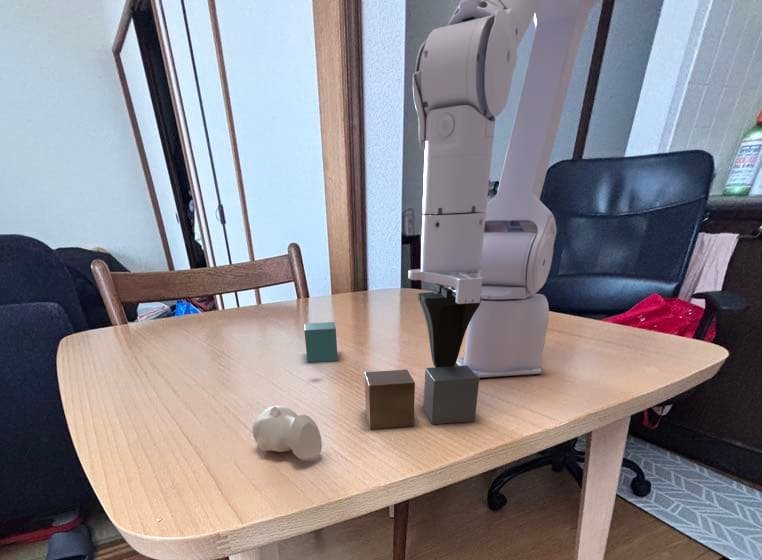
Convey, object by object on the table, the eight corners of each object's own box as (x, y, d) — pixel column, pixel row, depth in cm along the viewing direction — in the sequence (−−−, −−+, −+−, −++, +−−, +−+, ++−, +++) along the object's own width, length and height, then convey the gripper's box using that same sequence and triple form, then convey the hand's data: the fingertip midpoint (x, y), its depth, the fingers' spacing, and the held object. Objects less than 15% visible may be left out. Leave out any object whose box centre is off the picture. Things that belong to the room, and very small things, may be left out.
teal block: (336, 353, 73) (334, 321, 70) (337, 360, 69) (335, 328, 66) (307, 354, 72) (304, 323, 70) (307, 362, 69) (304, 330, 66)
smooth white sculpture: (254, 454, 47) (295, 427, 48) (290, 483, 41) (335, 452, 42) (233, 417, 44) (277, 389, 45) (269, 443, 38) (318, 411, 39)
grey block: (463, 406, 52) (467, 365, 49) (474, 421, 48) (479, 377, 46) (423, 409, 52) (425, 367, 49) (431, 424, 48) (434, 380, 45)
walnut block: (406, 410, 52) (407, 369, 49) (413, 426, 48) (415, 382, 45) (365, 413, 51) (364, 372, 49) (370, 429, 48) (369, 385, 45)
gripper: (398, 214, 48) (397, 351, 56) (426, 217, 37) (420, 390, 45) (465, 210, 49) (454, 347, 57) (514, 213, 37) (492, 385, 45)
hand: (443, 366), depth 51 cm, fingers closed
